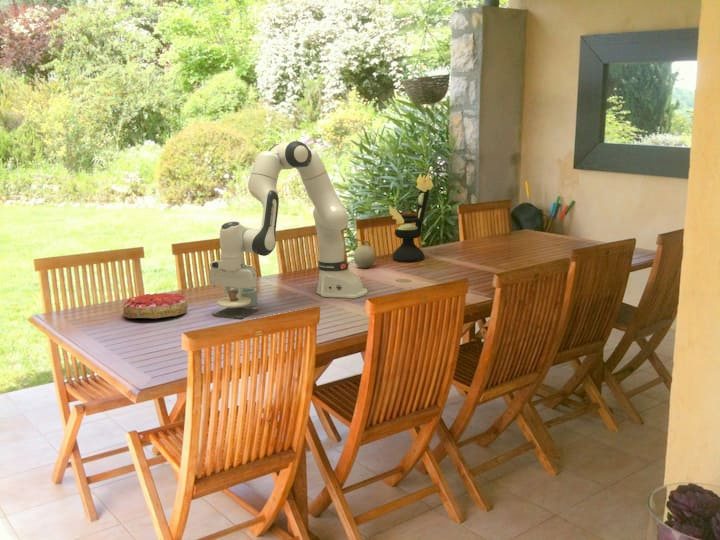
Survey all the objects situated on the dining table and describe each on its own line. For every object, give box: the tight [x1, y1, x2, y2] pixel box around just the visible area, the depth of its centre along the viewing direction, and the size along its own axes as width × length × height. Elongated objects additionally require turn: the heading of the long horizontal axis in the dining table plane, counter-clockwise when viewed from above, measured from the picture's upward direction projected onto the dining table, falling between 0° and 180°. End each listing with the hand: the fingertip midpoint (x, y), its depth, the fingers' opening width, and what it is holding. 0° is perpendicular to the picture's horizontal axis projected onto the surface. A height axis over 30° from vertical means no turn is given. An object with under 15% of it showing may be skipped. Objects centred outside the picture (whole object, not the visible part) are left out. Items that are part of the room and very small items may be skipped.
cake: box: [123, 292, 189, 320], centre depth 310 cm, size 25×25×8 cm
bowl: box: [231, 287, 258, 308], centre depth 323 cm, size 11×11×6 cm
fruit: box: [351, 238, 376, 269], centre depth 388 cm, size 10×12×15 cm
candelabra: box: [388, 172, 434, 263], centre depth 402 cm, size 19×22×45 cm
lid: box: [217, 290, 251, 308], centre depth 308 cm, size 13×13×5 cm
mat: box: [212, 307, 259, 320], centre depth 310 cm, size 13×13×1 cm
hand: (234, 297), depth 308 cm, fingers closed on lid, 3 cm apart
